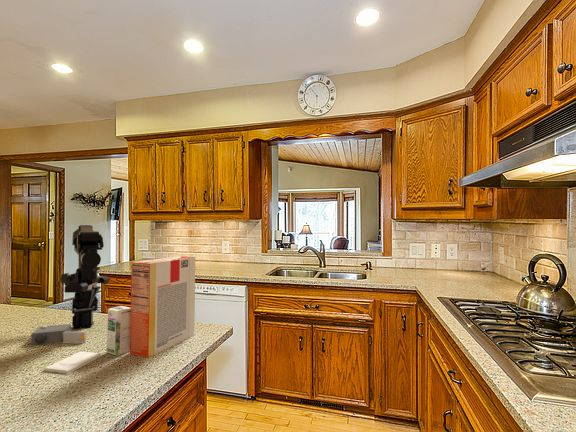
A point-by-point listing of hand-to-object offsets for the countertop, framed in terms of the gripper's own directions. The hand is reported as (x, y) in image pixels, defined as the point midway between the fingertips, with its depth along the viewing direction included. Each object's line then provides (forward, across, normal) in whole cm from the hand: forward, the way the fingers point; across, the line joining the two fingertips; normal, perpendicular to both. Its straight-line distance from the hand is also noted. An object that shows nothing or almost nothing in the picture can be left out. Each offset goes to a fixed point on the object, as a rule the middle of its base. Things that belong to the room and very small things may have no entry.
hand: (87, 307), depth 122 cm
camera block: (+12, +1, -12) cm, 17 cm away
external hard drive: (+12, +22, +8) cm, 26 cm away
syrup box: (+12, +12, +18) cm, 25 cm away
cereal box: (+12, +5, +30) cm, 33 cm away
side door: (+11, +4, -2) cm, 12 cm away
